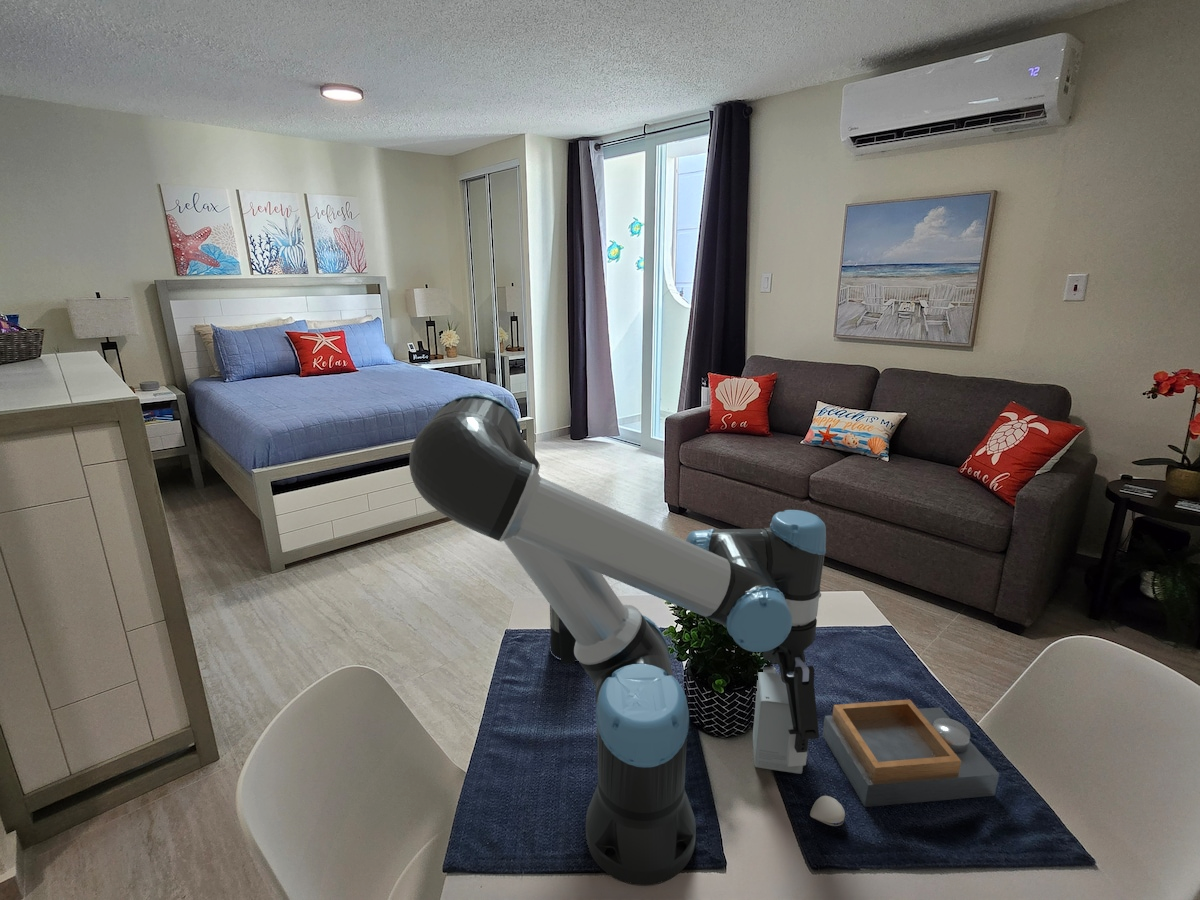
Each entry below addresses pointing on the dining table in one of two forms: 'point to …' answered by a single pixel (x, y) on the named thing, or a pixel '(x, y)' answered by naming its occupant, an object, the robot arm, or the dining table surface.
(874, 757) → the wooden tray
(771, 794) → the dining table surface
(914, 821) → the dining table surface
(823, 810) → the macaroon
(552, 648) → the milk frother
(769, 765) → the supplement box
